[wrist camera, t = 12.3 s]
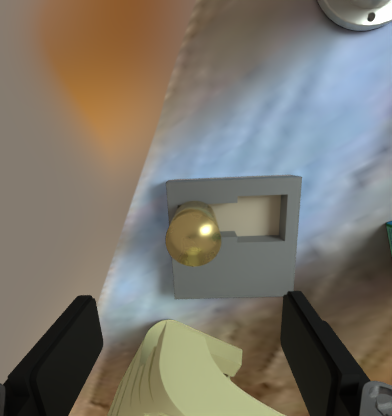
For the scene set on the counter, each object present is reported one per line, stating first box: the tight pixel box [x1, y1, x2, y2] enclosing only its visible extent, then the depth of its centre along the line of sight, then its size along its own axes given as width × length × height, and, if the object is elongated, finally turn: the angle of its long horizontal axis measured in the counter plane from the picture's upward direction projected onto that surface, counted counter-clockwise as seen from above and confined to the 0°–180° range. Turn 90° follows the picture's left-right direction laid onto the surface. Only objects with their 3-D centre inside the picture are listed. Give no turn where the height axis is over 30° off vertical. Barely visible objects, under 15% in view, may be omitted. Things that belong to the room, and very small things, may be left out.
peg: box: [166, 201, 221, 267], centre depth 24 cm, size 5×5×9 cm
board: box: [166, 175, 302, 299], centre depth 29 cm, size 16×16×3 cm
